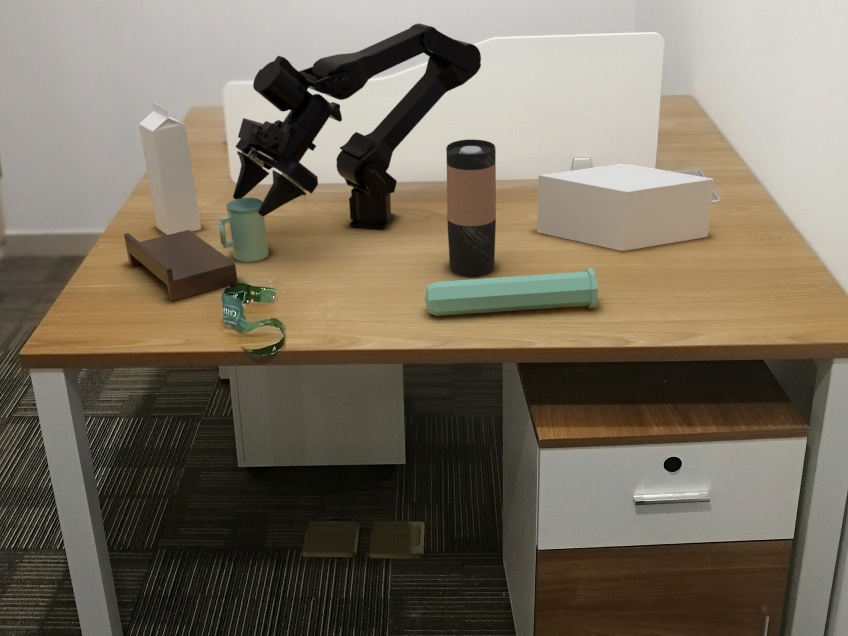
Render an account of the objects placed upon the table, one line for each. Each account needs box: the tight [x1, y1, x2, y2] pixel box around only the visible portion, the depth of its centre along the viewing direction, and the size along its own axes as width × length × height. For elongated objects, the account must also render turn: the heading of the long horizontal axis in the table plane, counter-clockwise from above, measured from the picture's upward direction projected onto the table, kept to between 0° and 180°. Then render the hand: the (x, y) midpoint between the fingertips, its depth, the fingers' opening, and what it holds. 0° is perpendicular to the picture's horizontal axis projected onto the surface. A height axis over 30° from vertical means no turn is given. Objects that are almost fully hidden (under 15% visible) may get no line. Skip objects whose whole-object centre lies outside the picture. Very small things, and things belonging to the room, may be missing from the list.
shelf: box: [123, 230, 239, 303], centre depth 163 cm, size 11×18×5 cm, turn 36°
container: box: [424, 267, 599, 317], centre depth 149 cm, size 6×6×25 cm
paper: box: [536, 162, 715, 252], centre depth 172 cm, size 14×29×10 cm, turn 83°
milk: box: [138, 101, 202, 236], centre depth 176 cm, size 6×6×22 cm
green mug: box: [218, 197, 269, 263], centre depth 168 cm, size 8×6×9 cm
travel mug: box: [445, 138, 497, 278], centre depth 159 cm, size 8×8×20 cm
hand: (247, 206), depth 166 cm, fingers open, 9 cm apart
